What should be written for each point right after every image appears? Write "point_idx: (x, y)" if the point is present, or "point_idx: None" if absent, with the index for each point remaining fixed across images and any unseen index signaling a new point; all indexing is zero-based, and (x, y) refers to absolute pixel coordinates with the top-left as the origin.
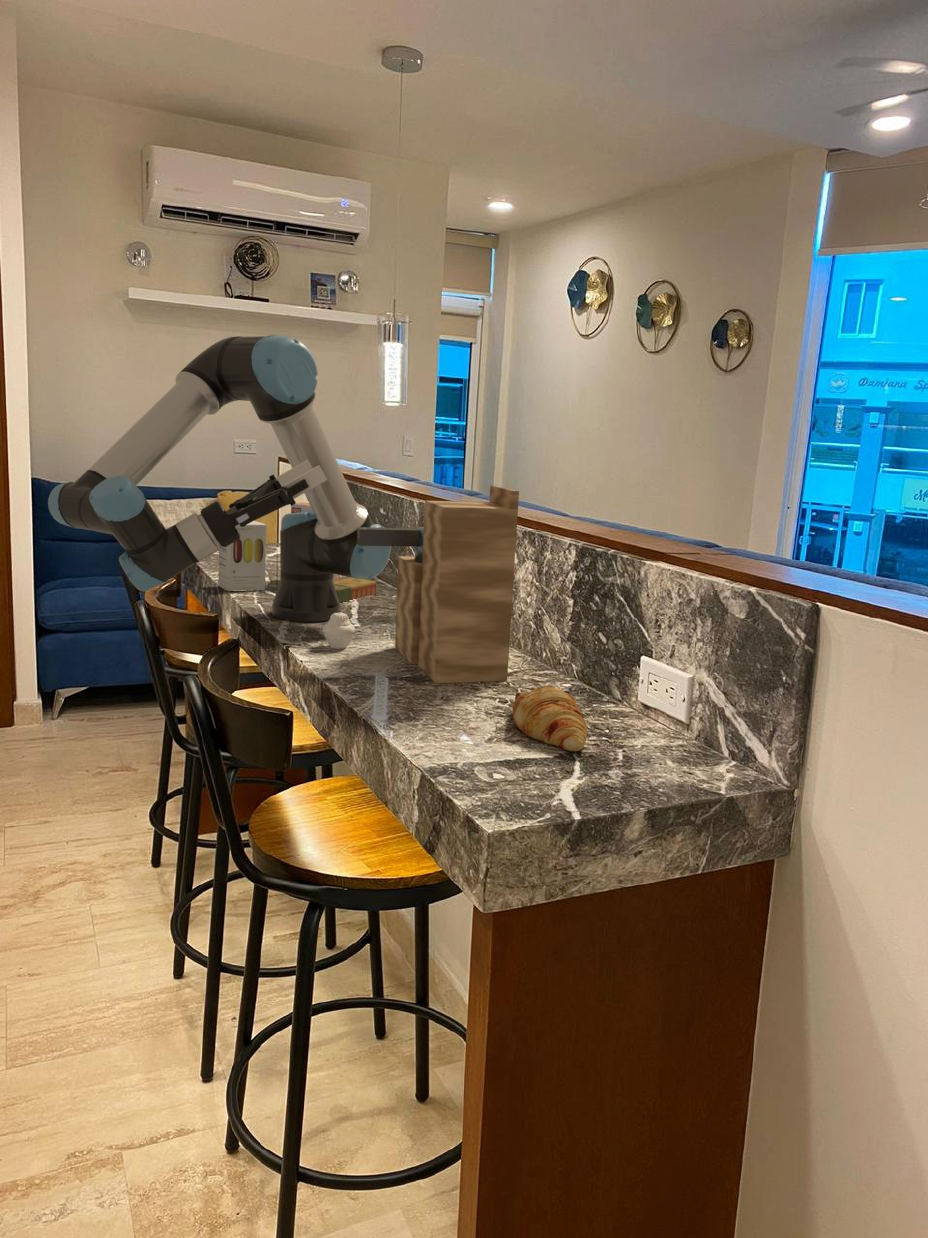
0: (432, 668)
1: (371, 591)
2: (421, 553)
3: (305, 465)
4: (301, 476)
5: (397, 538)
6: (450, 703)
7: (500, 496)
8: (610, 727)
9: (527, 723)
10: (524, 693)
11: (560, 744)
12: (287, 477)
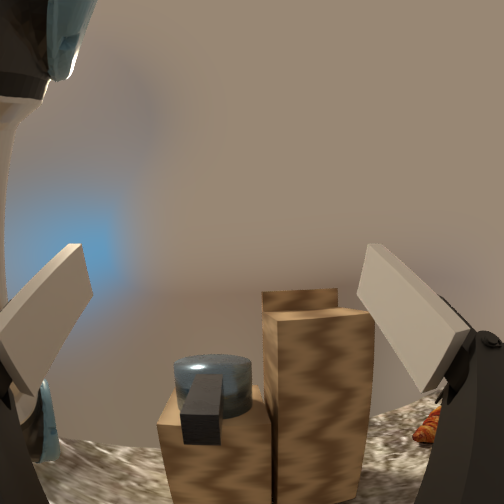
0: (342, 494)
1: None
2: (231, 404)
3: (75, 266)
4: (423, 283)
5: (222, 399)
6: (417, 477)
7: (299, 299)
8: (420, 415)
9: None
10: (430, 427)
11: None
12: (34, 326)
